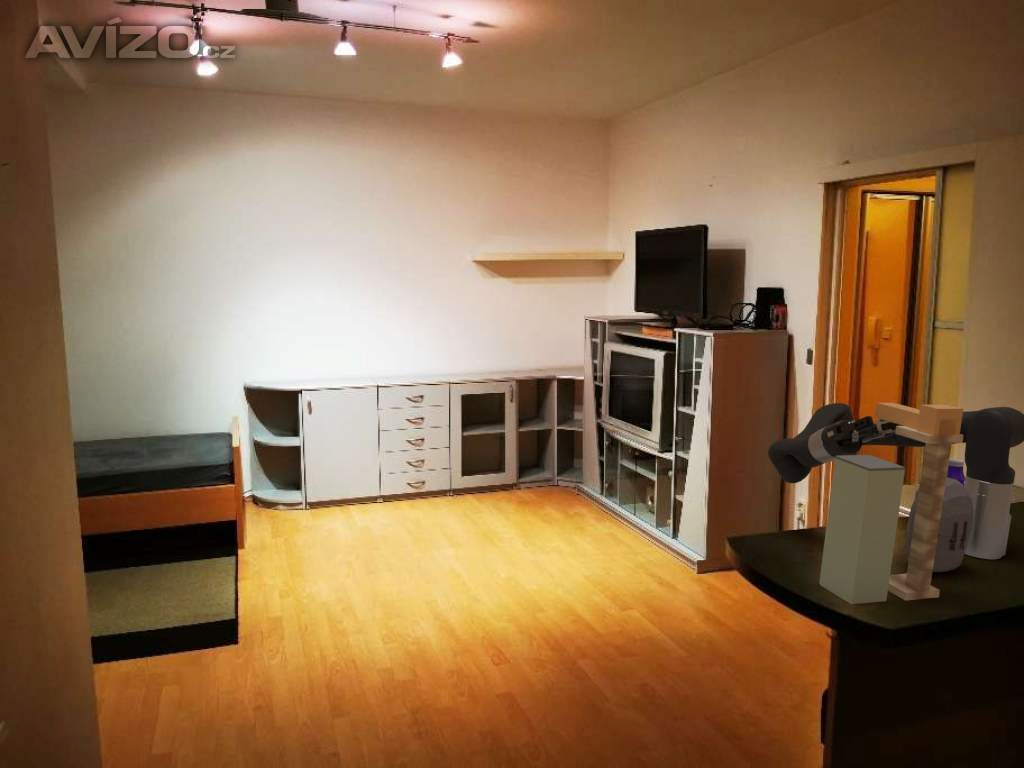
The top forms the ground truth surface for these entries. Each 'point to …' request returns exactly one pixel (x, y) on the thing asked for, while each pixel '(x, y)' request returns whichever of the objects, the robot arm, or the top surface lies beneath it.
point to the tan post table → (925, 516)
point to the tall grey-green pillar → (861, 528)
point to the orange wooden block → (923, 417)
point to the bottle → (956, 470)
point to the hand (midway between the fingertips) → (888, 420)
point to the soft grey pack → (948, 526)
